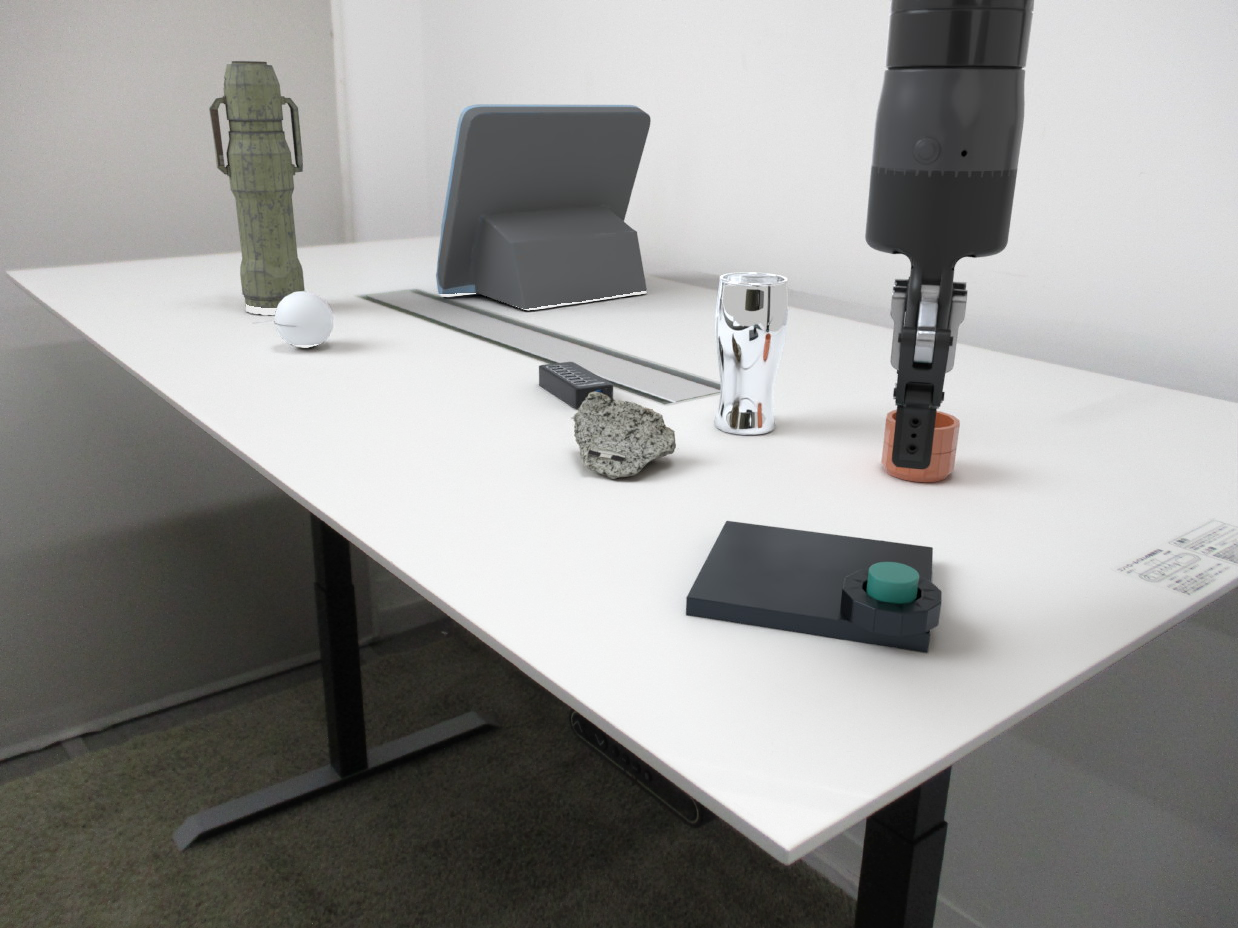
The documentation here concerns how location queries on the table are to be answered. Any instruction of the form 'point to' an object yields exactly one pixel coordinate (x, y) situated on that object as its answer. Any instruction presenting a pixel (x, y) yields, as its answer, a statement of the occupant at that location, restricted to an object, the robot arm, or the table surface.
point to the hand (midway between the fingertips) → (910, 463)
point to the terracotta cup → (941, 450)
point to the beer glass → (749, 349)
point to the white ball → (303, 319)
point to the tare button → (892, 582)
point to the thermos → (261, 180)
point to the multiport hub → (572, 382)
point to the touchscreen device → (542, 204)
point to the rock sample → (620, 435)
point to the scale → (813, 586)
